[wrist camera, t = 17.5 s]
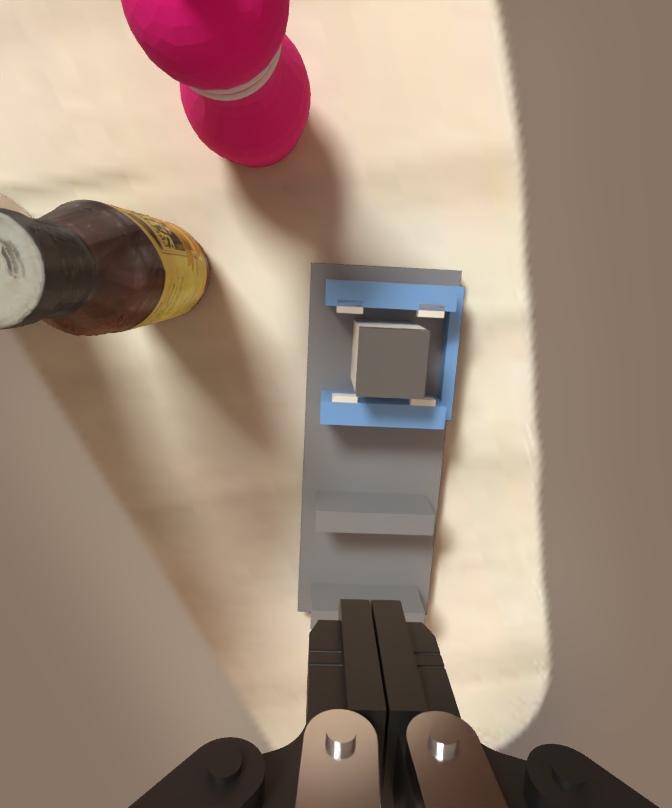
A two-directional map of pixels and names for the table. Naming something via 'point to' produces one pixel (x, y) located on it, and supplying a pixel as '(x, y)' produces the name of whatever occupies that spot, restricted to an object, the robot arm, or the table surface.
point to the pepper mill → (229, 71)
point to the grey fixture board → (373, 442)
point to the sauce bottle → (96, 269)
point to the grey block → (389, 359)
